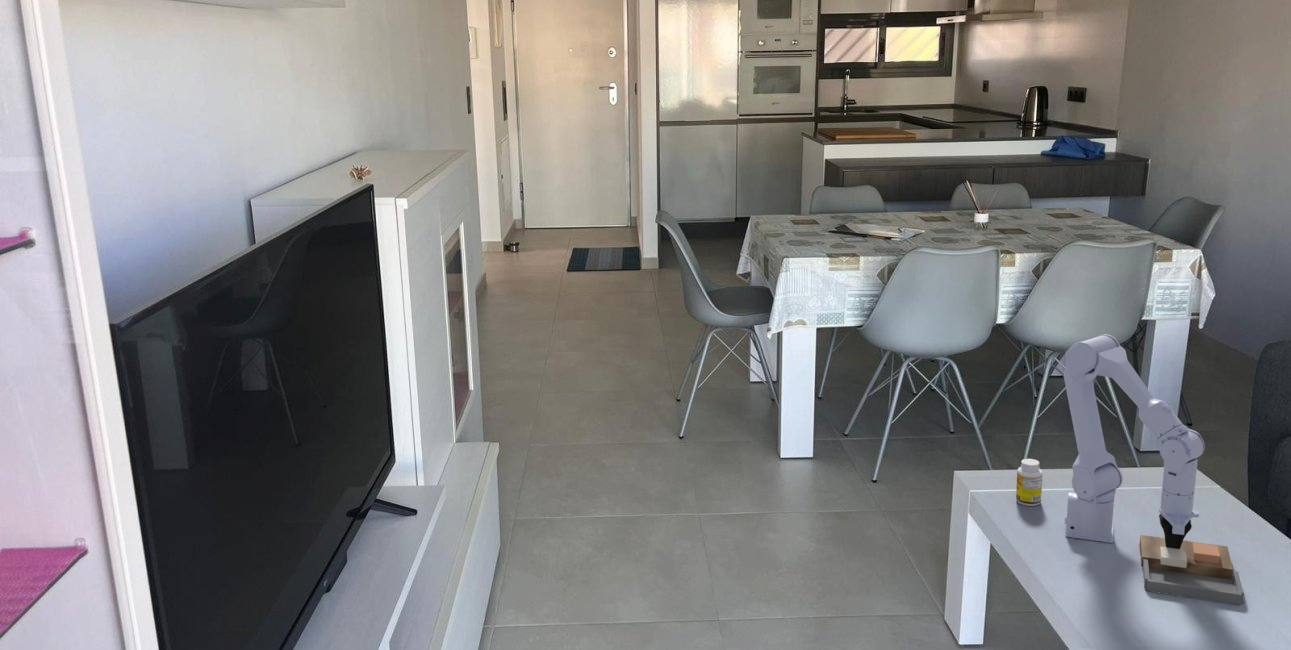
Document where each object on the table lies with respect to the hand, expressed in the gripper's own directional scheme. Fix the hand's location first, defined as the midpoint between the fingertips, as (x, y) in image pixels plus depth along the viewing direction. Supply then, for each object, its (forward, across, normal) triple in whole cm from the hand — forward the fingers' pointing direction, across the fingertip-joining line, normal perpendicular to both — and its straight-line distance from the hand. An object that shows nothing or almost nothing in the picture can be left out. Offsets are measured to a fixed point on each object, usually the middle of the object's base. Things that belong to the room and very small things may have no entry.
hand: (1172, 551), depth 197 cm
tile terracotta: (0, +1, -6) cm, 6 cm away
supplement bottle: (+3, +22, +28) cm, 36 cm away
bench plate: (+3, +2, -2) cm, 4 cm away
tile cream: (0, -3, 0) cm, 3 cm away
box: (+3, -8, -3) cm, 9 cm away
